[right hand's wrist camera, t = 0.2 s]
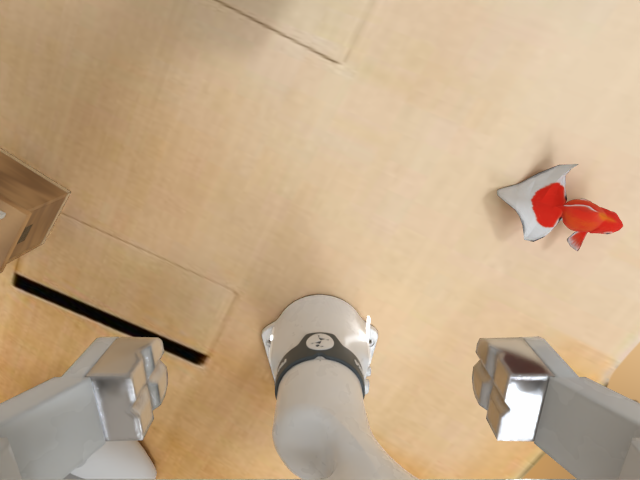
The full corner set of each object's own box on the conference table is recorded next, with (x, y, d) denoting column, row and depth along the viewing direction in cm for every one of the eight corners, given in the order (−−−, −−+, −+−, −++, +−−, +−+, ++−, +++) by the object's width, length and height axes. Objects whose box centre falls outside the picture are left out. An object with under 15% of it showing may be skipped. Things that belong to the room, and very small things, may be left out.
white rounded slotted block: (43, 477, 77) (-17, 561, 63) (26, 380, 69) (-47, 452, 55) (160, 487, 78) (125, 571, 64) (156, 391, 70) (116, 465, 56)
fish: (572, 280, 57) (608, 273, 48) (474, 220, 61) (489, 203, 52) (613, 219, 58) (658, 200, 48) (514, 163, 62) (537, 135, 52)
